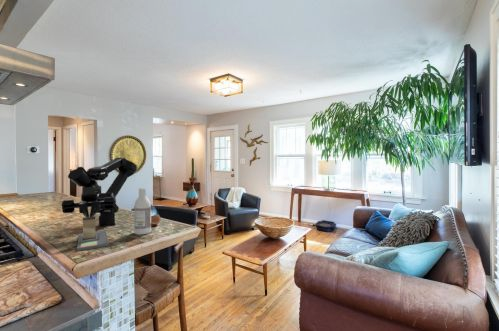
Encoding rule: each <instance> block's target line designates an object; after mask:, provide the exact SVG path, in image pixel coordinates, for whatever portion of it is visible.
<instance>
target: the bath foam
mask: <svg viewBox="0 0 499 331" xmlns="http://www.w3.org/2000/svg"><path fill="white" fill-rule="evenodd" d="M133 206H134V207H133V228H134V229H133V233H134V234H135V235H140V236H141V235H149V234H150V233H151V231H152V226H151V217H152V204H151V201H150V199H149V198H148V196H147V188H146V187H139V188H138V197H137V198H136V200H135V201H134V205H133Z"/></svg>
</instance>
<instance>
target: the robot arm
mask: <svg viewBox="0 0 499 331" xmlns="http://www.w3.org/2000/svg"><path fill="white" fill-rule="evenodd" d="M117 169H118V174H117V176H116V177H115V179H114V180H113V181H112V183H111V184H110V186H109V187H108V188H107V190H106V192H102V186H101V185H99V184H98V182H97V181H104V180H105V179H107V178H108V177H109V174H110V173H112V172H113V171H115V170H117ZM137 169H138V166H137V164H136V163H135V162H133V161H131V160H128V159H127V158H125V157H115V158H113V159H112V160H110V161H108V162H107V163H104V164H102V165H100V166H93V167H91V168H88V169H87V170H86V169H85V168H84V167H83V166H77V168H75V169H73V170H72V171H70V172H69V173H68V175H67V176H68V179H69V180H71V182H72V183H74V184H75V185H76V186H77V187H81V194H80V195H81V196H80V200H79V202H75V200H74V199H65V200H64V199H63V201H61V211H62V213H63V214H73V213H74V212H75V210H76V209H78V210H79V211H78V212H79V214H83V216H84V217H94V216H95V215H96V214H99V215H98V226H100V228H101V227H108V226H115V225H116V217H115V216H116V213H118V212H119V209H120V207H119V205H117V199H116V197H117V196H118V194H119V192H120V190H121V189H122V188H123V186H124V184H125V183H126V181H127V180H128V178H129V177H131V176H133V175H134V174H135V173H136V172H137ZM89 208H90V211H89Z"/></svg>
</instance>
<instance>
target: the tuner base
mask: <svg viewBox="0 0 499 331" xmlns="http://www.w3.org/2000/svg"><path fill="white" fill-rule="evenodd" d="M95 235H96V238H95V239H88V240H82V238H83V233H78V235H77V236H78V239H77V242H78V243H77V247H76V251H77V252H78V251H79V252H80V251H87V250H91V249H98V248H99V249H100V248H104V247H109V242H108V235H107V230H100V231H95Z"/></svg>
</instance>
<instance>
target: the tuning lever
mask: <svg viewBox="0 0 499 331" xmlns="http://www.w3.org/2000/svg"><path fill="white" fill-rule="evenodd" d="M95 232H96V216H95V215H94V217H90V216H89V217H85V216H84V217H82V234H83V238H82V240H88V239H95V238H96V235H95Z"/></svg>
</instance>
